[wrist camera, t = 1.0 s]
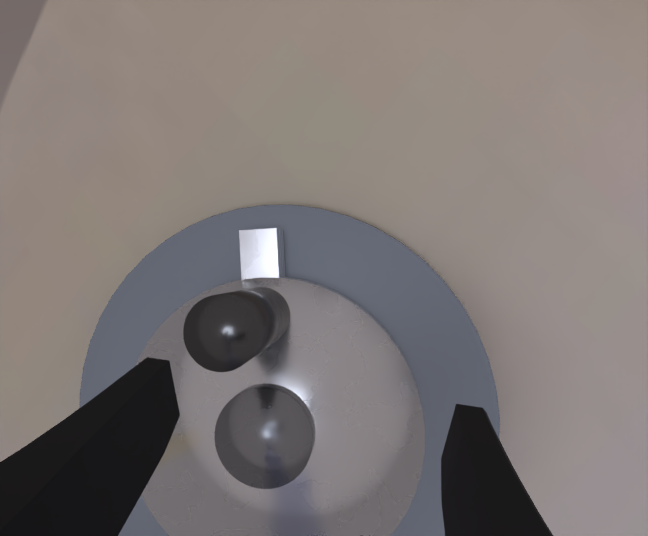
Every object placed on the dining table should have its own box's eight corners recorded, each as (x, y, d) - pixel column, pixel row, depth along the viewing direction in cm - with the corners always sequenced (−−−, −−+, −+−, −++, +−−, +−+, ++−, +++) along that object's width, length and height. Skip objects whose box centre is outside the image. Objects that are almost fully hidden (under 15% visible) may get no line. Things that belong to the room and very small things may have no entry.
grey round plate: (503, 623, 25) (526, 691, 21) (105, 602, 28) (59, 658, 24) (481, 194, 25) (500, 180, 21) (86, 221, 28) (37, 214, 24)
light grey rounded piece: (430, 571, 24) (451, 712, 16) (146, 560, 26) (49, 680, 18) (412, 222, 24) (425, 202, 16) (130, 239, 26) (27, 229, 18)
